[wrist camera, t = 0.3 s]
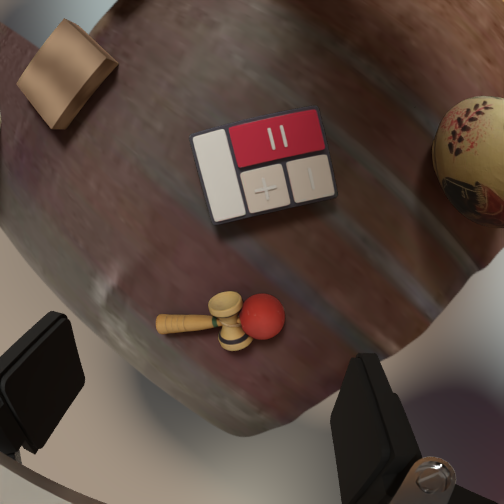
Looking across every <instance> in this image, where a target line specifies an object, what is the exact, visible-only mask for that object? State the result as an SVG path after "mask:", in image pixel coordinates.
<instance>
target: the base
mask: <svg viewBox="0 0 504 504" xmlns="http://www.w3.org/2000/svg"><path fill="white" fill-rule="evenodd" d="M118 64H119V63H118V62H117V61H115V60H114V59H113V58H112V57H111V56H110V55H109V54H108V53H107V52H106V51H105V50H104V49H103V48H102V47H101V46H100V45H99V44H98V43H96V42H95V41H94V40H93V39H92V38H91V37H90V36H89V35H88V34H87V33H86V32H85V31H84V30H83V29H82V28H81V27H79V25H76V24H75V23H73V22H71V21H69V20H67V19H63V21H62V22H61V23H60V24H59V25H58V26H57V28H56V29H55V30H54V32H53V33H52V34H51V35H50V36H49V38H48V39H47V40H46V42H45V43H44V45H43V46H42V47H41V48H40V50H39V51H38V52H37V54H36V55H35V57H34V58H33V59H32V61H31V62H30V64H29V65H28V67H27V68H26V70H25V71H24V73H23V74H22V76H21V77H20V79H19V80H18V82H17V85H18V87H19V88H20V89H21V91H22V92H23V93H24V95H25V96H26V97H27V99H28V100H29V101H30V103H31V104H32V105H33V106H34V108H35V109H36V110H37V112H38V113H39V114H40V115H41V117H42V118H43V119H44V121H45V122H46V123H47V124H48V126H49V127H50V128H51V129H67V127H68V126H69V125H70V123H71V122H72V120H73V119H74V118H75V116H76V115H77V114H78V112H79V111H80V110H81V108H82V107H83V106H84V104H85V103H86V102H87V101H88V99H89V98H90V97H91V95H92V94H93V93H94V92H95V91H96V89H97V88H98V87H99V86H100V85H101V83H102V82H103V81H104V80H105V79H106V77H107V76H108V75H109V74H110V73H111V72H112V71H113V69H114V68H115V67H116V66H117V65H118Z"/></svg>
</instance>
